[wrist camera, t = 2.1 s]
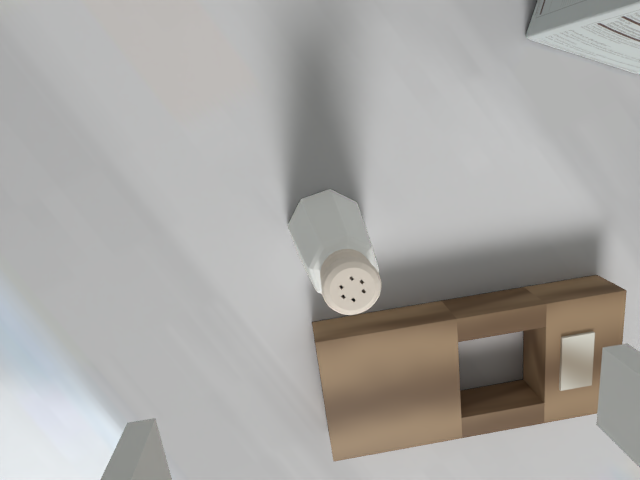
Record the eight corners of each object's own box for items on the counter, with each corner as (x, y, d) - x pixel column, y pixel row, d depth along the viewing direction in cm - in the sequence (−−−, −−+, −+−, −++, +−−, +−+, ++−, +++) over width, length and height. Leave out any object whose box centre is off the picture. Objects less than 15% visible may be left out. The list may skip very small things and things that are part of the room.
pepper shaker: (331, 171, 30) (361, 207, 19) (380, 230, 31) (433, 292, 21) (270, 224, 30) (268, 286, 20) (322, 278, 32) (344, 363, 21)
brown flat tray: (311, 322, 33) (315, 344, 30) (596, 274, 34) (628, 291, 31) (329, 433, 36) (334, 463, 33) (590, 386, 37) (619, 411, 34)
